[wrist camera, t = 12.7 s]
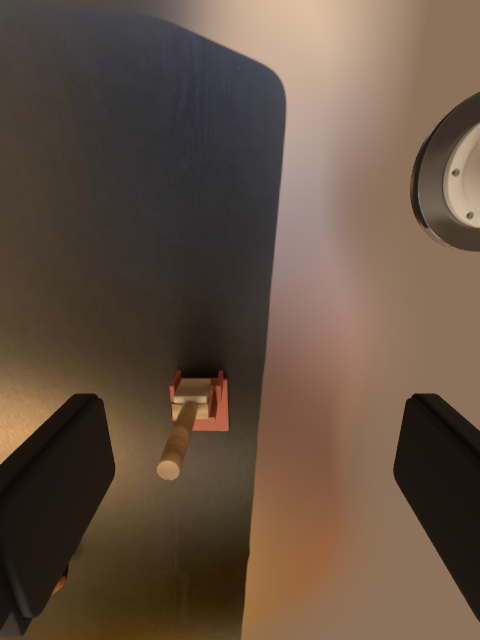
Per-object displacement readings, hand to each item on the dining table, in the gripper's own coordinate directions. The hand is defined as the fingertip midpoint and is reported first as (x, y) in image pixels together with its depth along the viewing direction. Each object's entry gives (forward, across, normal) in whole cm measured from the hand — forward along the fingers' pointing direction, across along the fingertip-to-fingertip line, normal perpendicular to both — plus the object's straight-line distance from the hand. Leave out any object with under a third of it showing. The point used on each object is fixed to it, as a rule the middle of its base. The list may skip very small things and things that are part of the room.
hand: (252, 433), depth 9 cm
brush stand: (+30, +7, +19) cm, 36 cm away
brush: (+20, +7, +13) cm, 25 cm away
